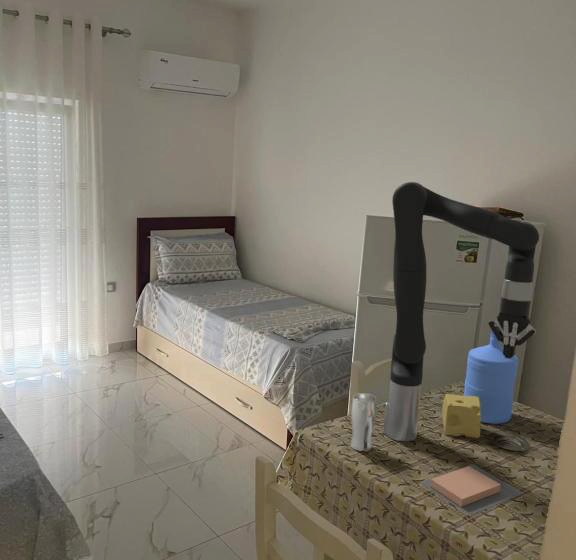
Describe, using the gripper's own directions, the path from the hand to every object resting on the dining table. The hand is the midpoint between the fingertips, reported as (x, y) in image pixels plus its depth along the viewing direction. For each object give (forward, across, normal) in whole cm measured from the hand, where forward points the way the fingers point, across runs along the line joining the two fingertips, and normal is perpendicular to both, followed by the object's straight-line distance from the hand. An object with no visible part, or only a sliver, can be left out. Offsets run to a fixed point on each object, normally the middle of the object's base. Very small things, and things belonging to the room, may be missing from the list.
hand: (508, 357), depth 158 cm
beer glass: (+29, -31, -23) cm, 48 cm away
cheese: (+29, -14, +8) cm, 33 cm away
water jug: (+29, -12, +26) cm, 41 cm away
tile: (+27, +3, -19) cm, 33 cm away
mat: (+29, +2, -24) cm, 37 cm away
